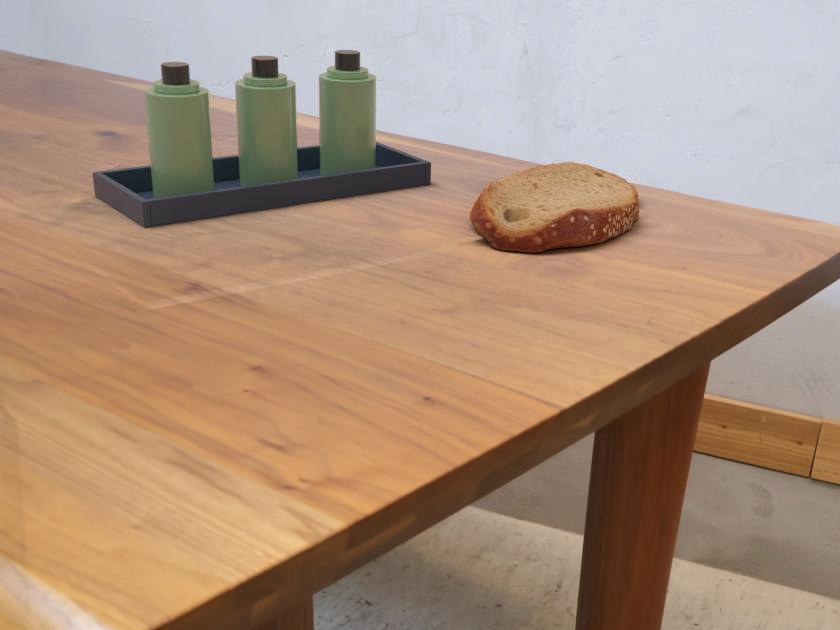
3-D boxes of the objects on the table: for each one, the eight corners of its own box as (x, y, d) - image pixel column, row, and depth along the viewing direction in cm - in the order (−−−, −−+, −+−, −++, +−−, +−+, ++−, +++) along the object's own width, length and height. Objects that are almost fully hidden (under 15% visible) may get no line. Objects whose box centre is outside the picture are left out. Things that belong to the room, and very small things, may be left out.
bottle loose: (168, 213, 92) (158, 71, 87) (143, 198, 96) (131, 61, 91) (225, 205, 95) (218, 66, 90) (198, 190, 99) (190, 57, 93)
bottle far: (338, 188, 101) (337, 58, 96) (309, 175, 104) (307, 49, 99) (386, 181, 104) (387, 54, 99) (356, 169, 107) (356, 45, 102)
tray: (145, 235, 89) (142, 202, 88) (95, 203, 96) (92, 172, 95) (430, 191, 104) (431, 162, 103) (369, 166, 111) (369, 138, 110)
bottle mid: (257, 200, 97) (251, 64, 91) (229, 186, 100) (223, 54, 95) (308, 193, 99) (306, 60, 94) (280, 179, 103) (276, 51, 98)
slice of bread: (601, 184, 108) (605, 144, 106) (700, 241, 93) (707, 196, 91) (420, 195, 102) (421, 152, 101) (495, 257, 87) (498, 209, 86)
